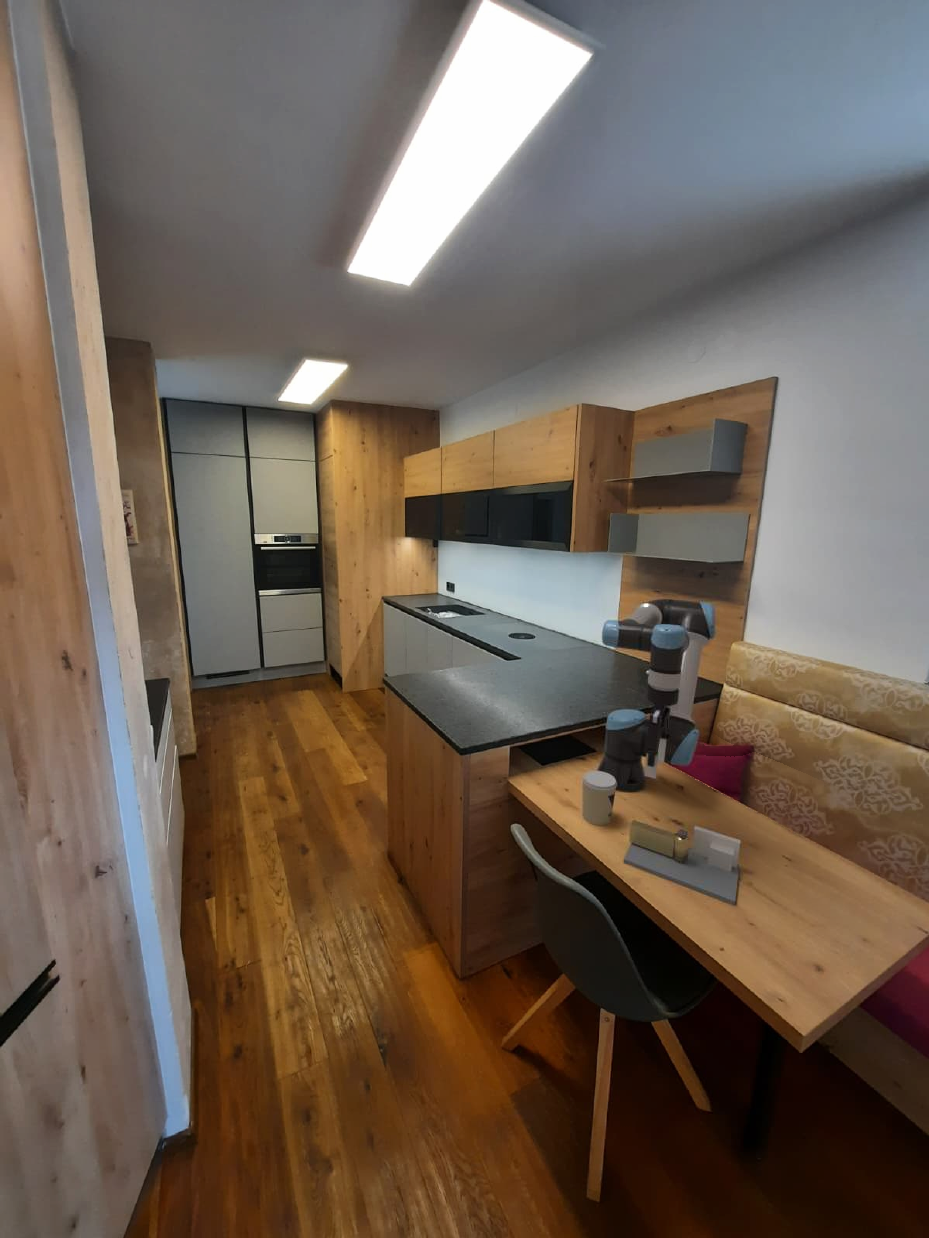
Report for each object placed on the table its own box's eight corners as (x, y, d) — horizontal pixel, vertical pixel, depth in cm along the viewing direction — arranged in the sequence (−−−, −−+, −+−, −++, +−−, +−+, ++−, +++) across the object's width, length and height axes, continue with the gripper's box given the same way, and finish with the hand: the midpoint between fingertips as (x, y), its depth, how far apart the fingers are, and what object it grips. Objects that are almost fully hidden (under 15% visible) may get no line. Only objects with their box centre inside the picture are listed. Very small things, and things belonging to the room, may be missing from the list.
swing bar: (689, 855, 118) (691, 835, 117) (686, 864, 115) (689, 843, 114) (631, 835, 126) (633, 816, 125) (628, 842, 123) (630, 823, 122)
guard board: (637, 833, 129) (640, 804, 128) (738, 868, 116) (743, 837, 115) (623, 862, 118) (626, 831, 116) (734, 905, 105) (739, 871, 103)
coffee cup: (615, 829, 131) (618, 789, 128) (580, 824, 132) (583, 784, 130) (611, 809, 140) (615, 772, 137) (579, 805, 141) (581, 768, 139)
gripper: (656, 673, 131) (648, 748, 136) (637, 695, 113) (628, 782, 117) (686, 678, 127) (677, 756, 132) (670, 702, 109) (661, 791, 113)
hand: (654, 768), depth 125 cm, fingers open, 9 cm apart
